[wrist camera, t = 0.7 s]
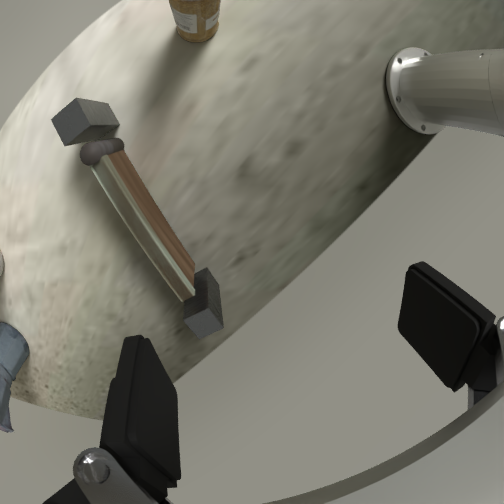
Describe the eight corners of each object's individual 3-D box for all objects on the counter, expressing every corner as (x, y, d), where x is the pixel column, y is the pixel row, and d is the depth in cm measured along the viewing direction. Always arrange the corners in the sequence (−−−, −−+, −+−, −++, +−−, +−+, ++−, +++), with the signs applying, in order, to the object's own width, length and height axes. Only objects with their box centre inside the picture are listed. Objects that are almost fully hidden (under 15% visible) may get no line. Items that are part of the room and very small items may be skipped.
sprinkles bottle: (225, 33, 23) (239, -23, 11) (186, 49, 24) (173, 0, 12) (208, 4, 21) (212, -60, 9) (169, 20, 22) (149, -39, 10)
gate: (118, 134, 26) (93, 137, 19) (197, 262, 34) (196, 297, 27) (99, 148, 26) (69, 156, 20) (178, 272, 34) (173, 308, 27)
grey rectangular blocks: (108, 103, 25) (76, 97, 17) (219, 285, 36) (223, 327, 29) (87, 119, 25) (51, 119, 17) (199, 295, 36) (199, 339, 29)
